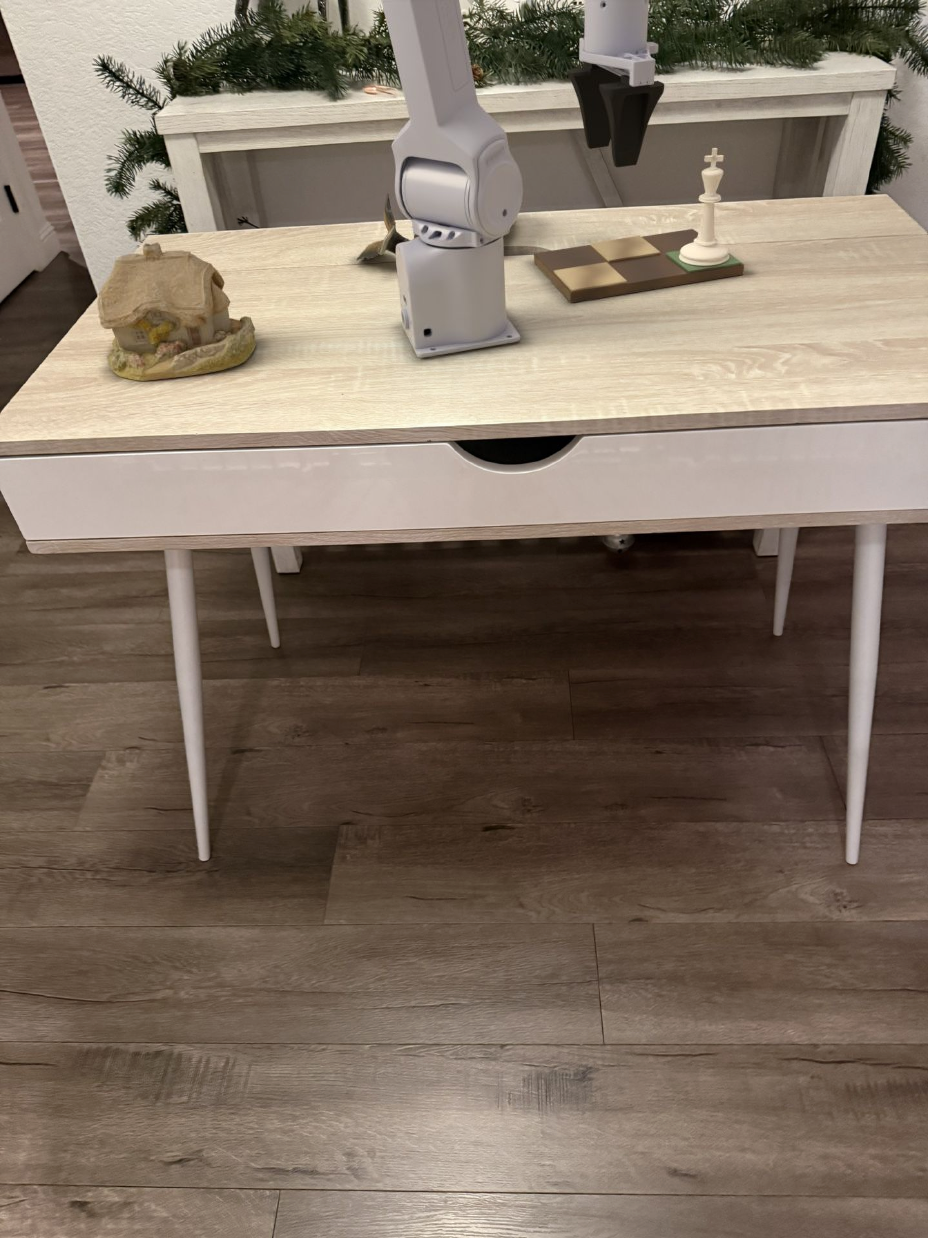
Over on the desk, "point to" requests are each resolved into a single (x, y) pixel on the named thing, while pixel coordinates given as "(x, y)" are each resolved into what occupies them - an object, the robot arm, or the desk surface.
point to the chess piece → (707, 222)
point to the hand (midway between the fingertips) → (611, 155)
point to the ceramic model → (170, 317)
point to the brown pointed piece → (390, 239)
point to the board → (628, 266)
